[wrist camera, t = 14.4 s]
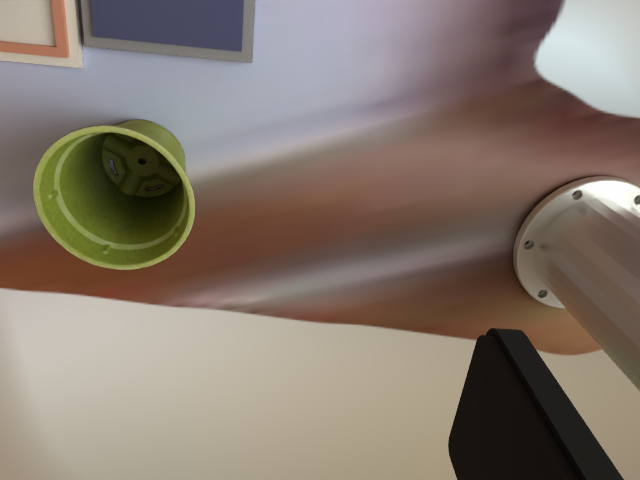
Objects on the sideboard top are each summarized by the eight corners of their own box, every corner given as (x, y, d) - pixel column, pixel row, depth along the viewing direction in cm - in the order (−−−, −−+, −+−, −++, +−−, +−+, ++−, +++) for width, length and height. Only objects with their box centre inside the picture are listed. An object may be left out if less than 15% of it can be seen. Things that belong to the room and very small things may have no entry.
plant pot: (181, 79, 37) (158, 107, 29) (225, 198, 41) (215, 249, 34) (56, 115, 37) (1, 151, 30) (112, 228, 42) (77, 286, 34)
